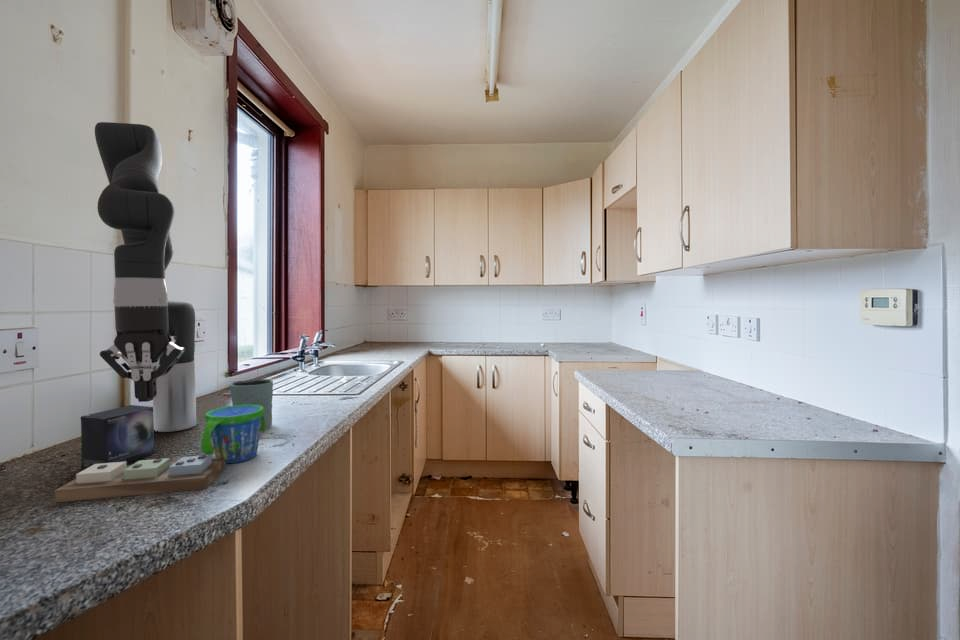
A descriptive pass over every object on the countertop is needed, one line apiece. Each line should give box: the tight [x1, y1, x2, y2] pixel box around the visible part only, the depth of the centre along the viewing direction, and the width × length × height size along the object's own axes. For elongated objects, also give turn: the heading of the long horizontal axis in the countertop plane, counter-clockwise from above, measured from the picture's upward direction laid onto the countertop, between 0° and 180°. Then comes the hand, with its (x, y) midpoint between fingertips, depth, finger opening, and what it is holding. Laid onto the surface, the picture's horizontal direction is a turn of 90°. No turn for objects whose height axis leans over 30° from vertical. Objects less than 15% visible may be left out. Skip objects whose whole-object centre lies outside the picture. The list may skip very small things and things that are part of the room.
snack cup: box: [200, 405, 267, 464], centre depth 91 cm, size 16×10×10 cm
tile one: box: [75, 462, 128, 484], centre depth 77 cm, size 5×5×4 cm
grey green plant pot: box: [229, 378, 274, 429], centre depth 115 cm, size 10×10×12 cm
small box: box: [80, 404, 155, 469], centre depth 91 cm, size 11×6×10 cm, turn 168°
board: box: [54, 458, 226, 503], centre depth 79 cm, size 10×22×2 cm, turn 102°
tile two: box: [124, 457, 171, 480], centre depth 79 cm, size 5×5×4 cm
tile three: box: [169, 454, 213, 476], centre depth 80 cm, size 5×5×4 cm
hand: (145, 400), depth 79 cm, fingers closed
